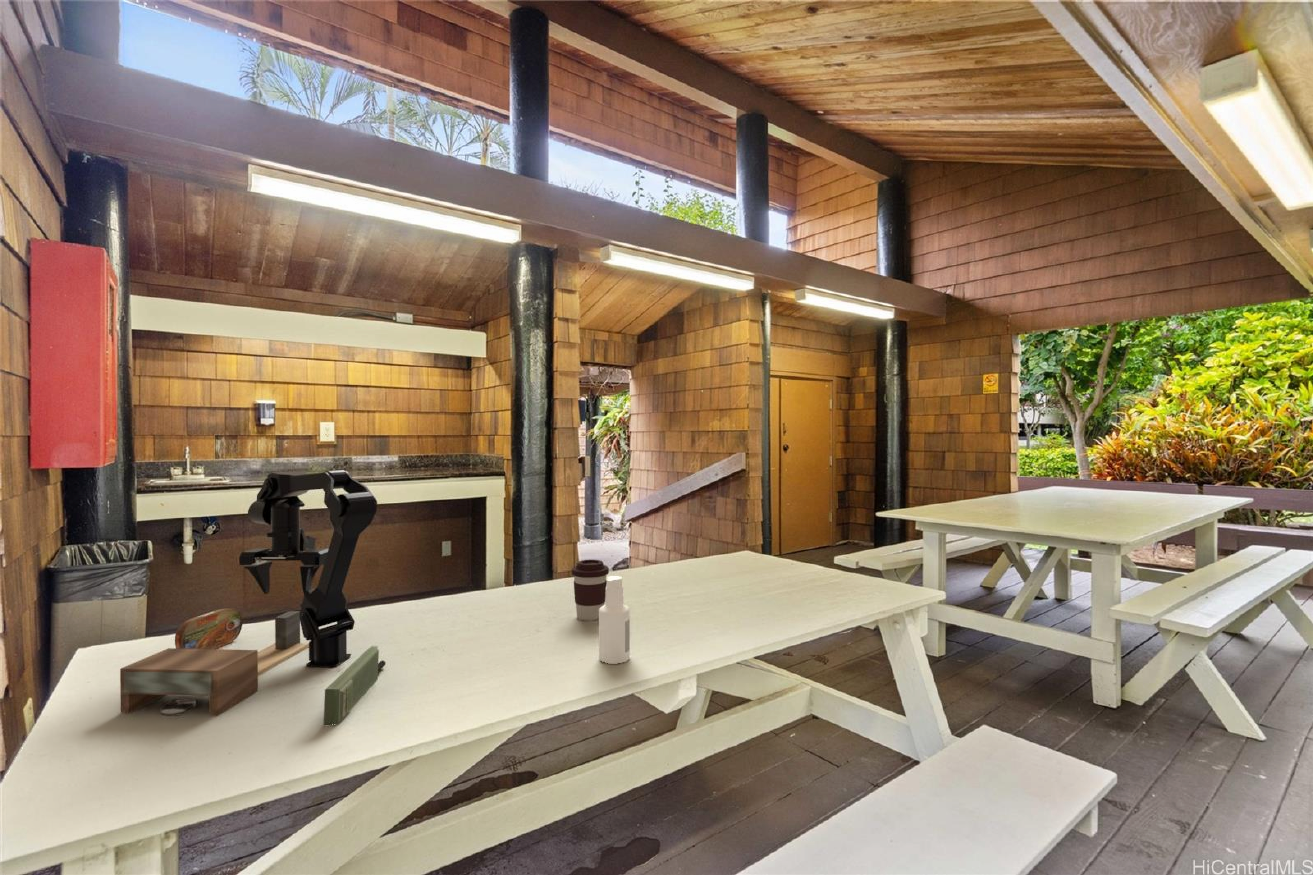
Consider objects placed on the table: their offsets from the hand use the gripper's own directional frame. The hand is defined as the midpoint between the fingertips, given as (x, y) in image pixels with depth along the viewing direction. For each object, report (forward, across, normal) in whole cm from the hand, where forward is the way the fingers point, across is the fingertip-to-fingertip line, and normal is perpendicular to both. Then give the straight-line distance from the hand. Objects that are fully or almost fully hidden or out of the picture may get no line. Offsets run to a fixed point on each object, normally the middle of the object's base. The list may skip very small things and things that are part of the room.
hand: (286, 593), depth 138 cm
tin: (+13, +18, 0) cm, 22 cm away
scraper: (+13, 0, +9) cm, 15 cm away
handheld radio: (+14, -29, +22) cm, 39 cm away
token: (+13, 0, +30) cm, 33 cm away
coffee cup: (+13, -66, -26) cm, 73 cm away
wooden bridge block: (+13, 0, +27) cm, 30 cm away
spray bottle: (+14, -76, +3) cm, 77 cm away
